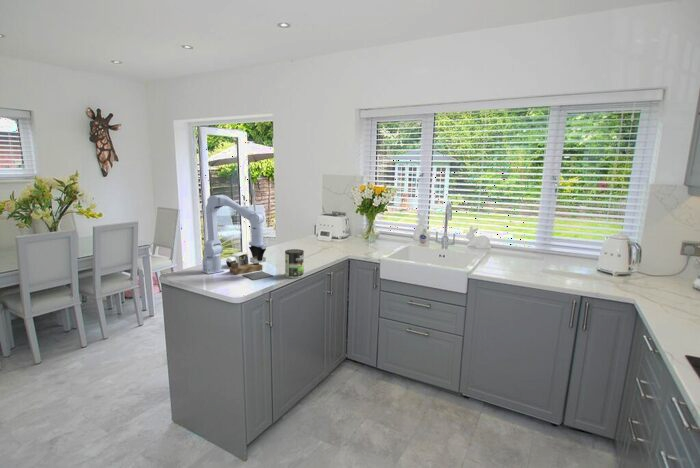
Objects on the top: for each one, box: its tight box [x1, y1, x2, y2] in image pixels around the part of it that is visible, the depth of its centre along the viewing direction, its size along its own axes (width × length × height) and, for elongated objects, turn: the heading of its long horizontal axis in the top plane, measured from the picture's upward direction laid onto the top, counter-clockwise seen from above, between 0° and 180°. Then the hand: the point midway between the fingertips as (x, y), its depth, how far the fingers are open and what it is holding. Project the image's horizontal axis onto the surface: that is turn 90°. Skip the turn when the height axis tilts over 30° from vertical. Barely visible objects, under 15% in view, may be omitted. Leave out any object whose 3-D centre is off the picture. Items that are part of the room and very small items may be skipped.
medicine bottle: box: [225, 251, 250, 268], centre depth 224 cm, size 7×7×12 cm
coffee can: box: [284, 248, 305, 279], centre depth 206 cm, size 10×10×14 cm
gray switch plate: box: [242, 270, 274, 281], centre depth 205 cm, size 12×12×1 cm
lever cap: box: [249, 256, 267, 264], centre depth 203 cm, size 7×4×3 cm, turn 134°
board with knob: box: [228, 262, 263, 276], centre depth 213 cm, size 17×7×6 cm, turn 134°
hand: (257, 259), depth 203 cm, fingers closed on lever cap, 4 cm apart
